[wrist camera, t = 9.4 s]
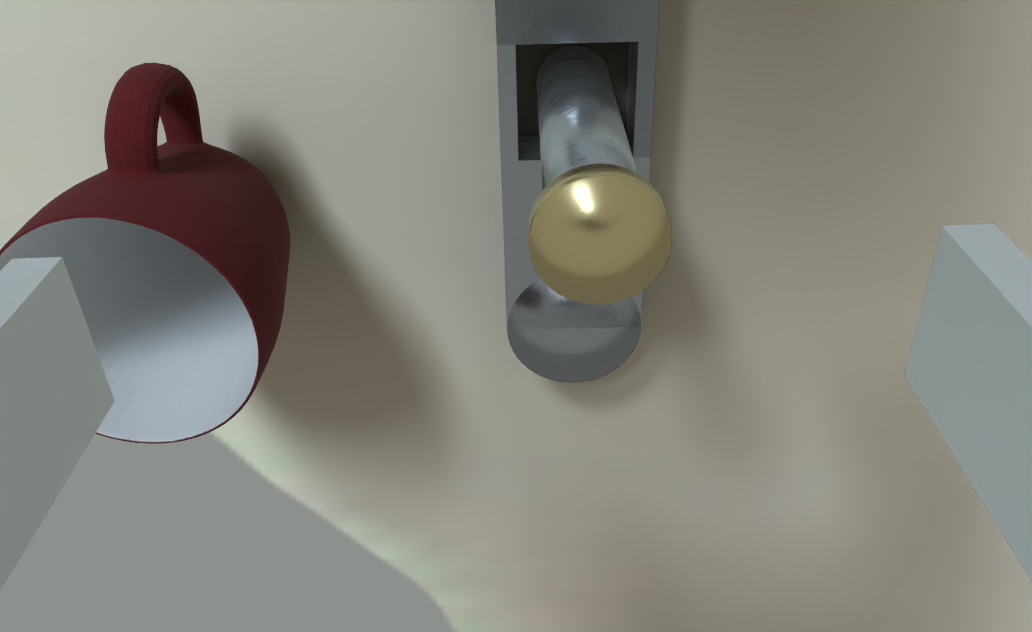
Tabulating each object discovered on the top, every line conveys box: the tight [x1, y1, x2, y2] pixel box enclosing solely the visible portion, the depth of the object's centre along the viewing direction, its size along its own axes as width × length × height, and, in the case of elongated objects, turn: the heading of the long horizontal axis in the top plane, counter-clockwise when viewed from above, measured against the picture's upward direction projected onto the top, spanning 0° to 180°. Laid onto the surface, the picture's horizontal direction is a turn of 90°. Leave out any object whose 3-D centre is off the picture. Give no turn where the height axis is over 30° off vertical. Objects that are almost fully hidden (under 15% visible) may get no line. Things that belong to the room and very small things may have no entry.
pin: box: [528, 45, 672, 305], centre depth 26 cm, size 3×3×13 cm
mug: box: [0, 63, 290, 443], centre depth 29 cm, size 10×8×10 cm
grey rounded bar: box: [495, 0, 659, 382], centre depth 31 cm, size 23×5×2 cm, turn 1°
